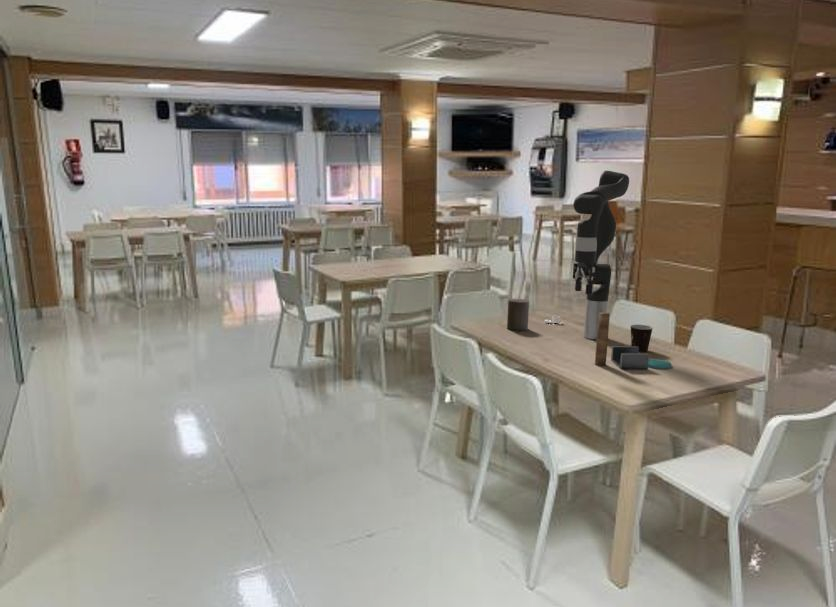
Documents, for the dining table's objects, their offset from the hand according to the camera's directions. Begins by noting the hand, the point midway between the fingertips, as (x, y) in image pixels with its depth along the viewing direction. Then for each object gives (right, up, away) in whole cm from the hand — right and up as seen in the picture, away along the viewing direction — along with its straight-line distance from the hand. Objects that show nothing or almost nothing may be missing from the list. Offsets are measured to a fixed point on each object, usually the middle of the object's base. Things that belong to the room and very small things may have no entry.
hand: (583, 292), depth 239 cm
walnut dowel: (+8, -27, +5) cm, 29 cm away
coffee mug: (+29, -24, +25) cm, 46 cm away
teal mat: (+30, -28, +6) cm, 41 cm away
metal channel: (+19, -28, +5) cm, 34 cm away
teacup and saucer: (+4, -14, +76) cm, 77 cm away
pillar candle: (-15, -16, +60) cm, 64 cm away
